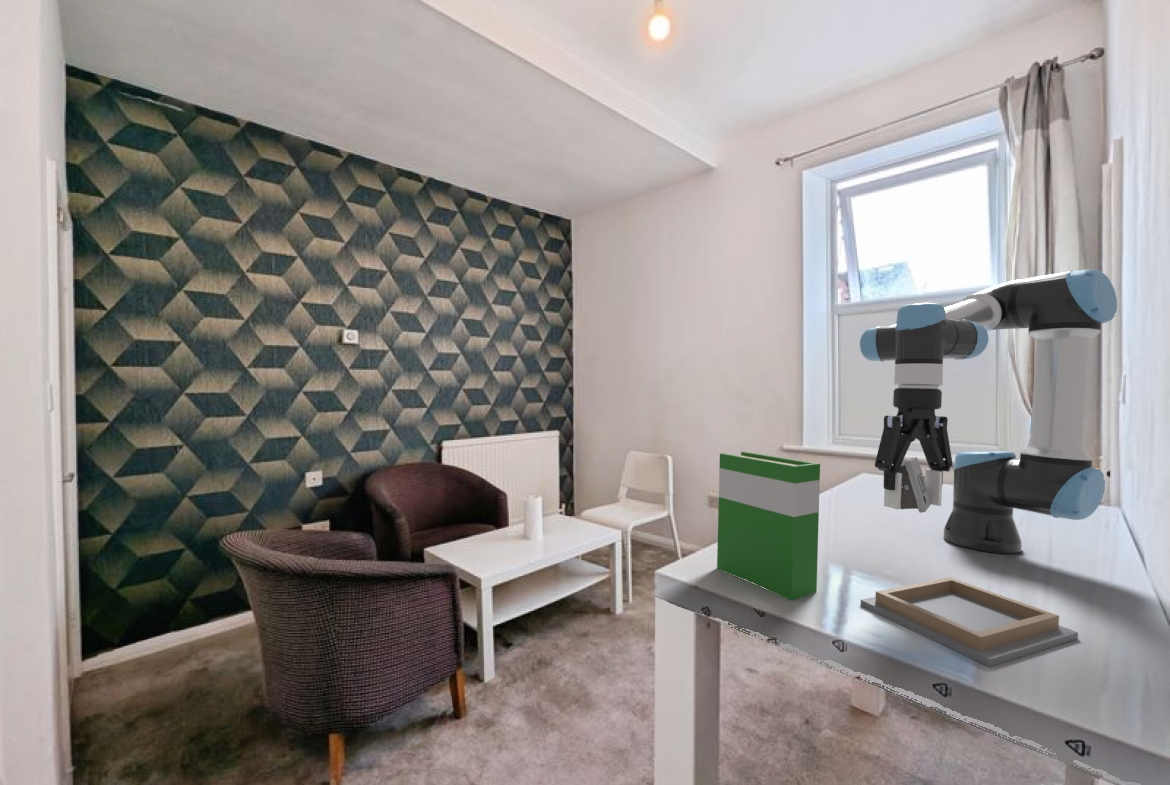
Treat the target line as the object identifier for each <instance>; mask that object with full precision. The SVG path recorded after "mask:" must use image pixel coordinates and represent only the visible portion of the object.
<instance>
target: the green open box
mask: <svg viewBox="0 0 1170 785" xmlns="http://www.w3.org/2000/svg"><path fill="white" fill-rule="evenodd" d="M718 469H719V473H718V475H719V476H718V477H719V478H718V479H719V480H718V512H717V513H718V515H717V521H718V522H717V550H716V551H717V552H716V553H717V556H716V559H717V560H716V562H717V563H716V568H718V569H717V570H720V569H721V570H720V571H722V570H723V572H724V571H726V572H725V573H727V572H728V573H727V574H729V573H731V574H733V575H735V576H734V577H736V576H738V577H740V578H743V579H746V580H748V581H750V582H753V583H755V584H757V585H759V586H762V587H764V588H766V589H768V590H770V591H773V592H775V593H777V594H779V595H778V596H780V595H781V596H780V597H782V596H783V597H782V598H784V597H786V598H785V599H787V598H788V599H787V600H789V599H790V600H789V601H791V600H792V601H795V600H797V599H801V598H803V596H804V597H806V595H807V596H809V594H810V595H812V594H814V592H815V593H817V591H818V590H817V588H818V587H817V586H818V585H817V584H818V582H817V581H818V551H819V550H818V549H819V517H820V516H819V515H820V488H821V487H820V483H821V482H820V479H821V463H819V462H811V461H805V460H799V459H794V458H793V459H792V458H786V457H780V456H774V455H768V454H761V453H755V452H749V451H740V455H734V454H733V455H732V454H728V453H719V468H718ZM731 574H730V575H731ZM733 575H732V576H733ZM738 577H737V578H738ZM740 578H739V579H740ZM743 579H742V580H743ZM750 582H749V583H750ZM757 585H756V586H757ZM759 586H758V587H759ZM764 588H763V589H764ZM766 589H765V590H766ZM768 590H767V591H768ZM770 591H769V592H770ZM773 592H772V593H773ZM775 593H774V594H775ZM811 593H812V594H811ZM777 594H776V595H777ZM800 597H801V598H800ZM794 599H795V600H794Z"/></svg>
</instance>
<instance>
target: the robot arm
mask: <svg viewBox="0 0 1170 785" xmlns="http://www.w3.org/2000/svg"><path fill="white" fill-rule="evenodd" d="M1117 299H1118V298H1117V294H1116V291H1115V288H1114V285H1113V284H1112V281H1111V280H1110V278H1109V277H1108V276H1107V275H1106V274H1105V273H1104V272H1102V271H1100V270H1098V269H1093V268H1091V269H1090V268H1089V269H1088V268H1087V269H1080V270H1069V271H1063V272H1057V273H1052V274H1051V273H1050V274H1046V275H1040V276H1034V277H1028V278H1020V279H1015V280H1010V281H1007V282H1003V283H1000V284H998V285H995V286H991V287H988V288H986V289H984V290H980V291H978V292H975V293H971V294H969V295H967V296H966V297H964V298H963V299H962V300H961V301H960V302H958V303H955V304H953V305H949V306H946V307H944V305H943V304H941V303H934V302H922V303H913V304H912V303H911V304H905V305H903V306H901V307H899V309H898V310H897V314H896V323H894V324H891V325H885V326H877V327H872V328H868V329H865V331H864V332H863V333H862V334H861V337H860V340H859V348H860V349H859V350H860V353H861V355H862V356H863V357H864V358H865V359H866V360H868V361H872V362H875V361H876V362H877V361H878V362H886V361H887V362H888V361H894V380H893V381H894V382H893V384H894V385H895V386H897V388H894V389H893V396H892V397H893V398H892V405H893V407H894V408H896V409H897V413H896V415H885V416H884V417H883V429H882V434H881V438H880V440H879V441H880V442H879V445H878V450H877V453H876V458H875V461H874V468H876V469H878V470H879V471H881V472H883V484H882V485H883V489H884V497H883V506H884V507H887V508H891V509H894V510H901V482H902V473H897V472H898V471H899V468H900V466H901V464H902V463H904V462H903V461H904V459H905V458H906V454H907V452H908V451H909V449H910V446H911V443H912V442H914V441H916V439H917V440H918V441H919V443H920V446H921V448H922V451H923V454H924V457H925V459H926V462H927V465H928V468H926V469H925V475H924V476H925V483H926V487H927V490H928V493H929V497H930V501H931V505H932V506H937V507H941V506H942V498H943V497H942V496H943V484H944V472H950V470H951V468H952V467H953V469H952V470H953V491H952V492H953V495H952V496H953V498H952V510H951V513H949V514H950V515H949V517H948V519H947V521H946V523H945V525H944V527H943V539H944V540H945V541H947V542H949V543H952V544H954V545H955V546H959V547H963V548H967V549H972V550H975V551H976V550H977V551H980V552H987V553H995V554H1018V553H1020V552H1021V551H1022V546H1023V545H1022V543H1023V542H1022V539H1021V536H1020V533H1019V530H1018V528H1017V525H1016V523H1015V520H1014V509H1015V510H1016V509H1017V510H1020V511H1021V510H1022V511H1026V512H1031V513H1035V514H1041V515H1046V516H1051V517H1052V518H1056V519H1059V518H1061V519H1067V520H1071V521H1072V520H1073V521H1080V520H1085V519H1087V518H1089V517H1090V516H1092V514H1094V513H1095V512H1096V510H1098V508H1099V506H1100V504H1101V502H1102V500H1103V497H1104V494H1105V490H1106V480H1105V475H1104V473H1103V472H1102V471H1101V470H1100V469H1098V468H1096V467H1093V466H1092V465H1093V458H1092V457H1091V456H1090V455H1088V454H1087V453H1086V452H1085V450H1084V437H1085V425H1086V424H1085V420H1086V409H1087V408H1086V406H1087V405H1086V404H1087V393H1088V392H1087V390H1088V378H1089V377H1088V376H1089V362H1090V360H1089V359H1090V348H1091V347H1090V345H1091V340H1092V339H1093V338H1095V337H1096V336H1097V335H1099V334H1101V331H1102V324H1104V323H1105V324H1106V323H1108V322H1111V321H1112V320H1113V319H1114V317H1115V316H1116V313H1117V309H1118V300H1117ZM1013 329H1014V330H1015V329H1016V330H1017V329H1028V335H1029V336H1030V337H1031V338H1033V339H1034V340H1035V341H1036V345H1035V346H1036V347H1035V362H1034V375H1033V377H1034V379H1033V393H1032V408H1031V420H1030V435H1029V436H1030V437H1029V439H1030V440H1029V445H1028V446H1027V447H1026V448H1024V449H1022V450H1021V451H1020V454H1019V458H1017V455H1016V454H1015V452H1014V451H1007V450H1006V451H1004V450H1003V451H1001V450H996V451H995V450H994V451H993V450H992V451H987V450H986V451H985V450H983V451H978V450H977V451H963V452H959V453H957V454H956V456H955V457H954V465H953V458H952V451H951V445H950V439H949V433H948V420H949V419H948V417H947V416H943V415H941V416H940V415H936V410H940V409H941V408H942V402H943V401H942V399H943V398H942V396H943V391H942V390H941V389H939V387H941V386H943V381H944V378H943V377H944V376H943V374H944V364H943V363H944V359H954V360H969V359H973V358H975V357H978V356H980V355H981V354H982V353H983V352H984V351H985V350H986V348H987V346H988V343H989V339H990V338H989V334H988V332H989V331H990V332H991V331H993V330H994V331H995V330H1013Z"/></svg>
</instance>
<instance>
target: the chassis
mask: <svg viewBox="0 0 1170 785" xmlns="http://www.w3.org/2000/svg"><path fill="white" fill-rule="evenodd" d="M860 606H861V607H863V608H865V609H867V610H870V611H871V612H873V613H875V614H877V615H880V616H882V617H884V618H886V619H889V620H890V621H892V622H894V623H896V624H899V625H901V626H903V627H905V628H907V629H909V630H911V631H913V632H916V633H917V634H920V635H922V636H924V637H926V638H928V639H931V640H932V641H935V642H936V643H939V644H941V645H943V646H945V647H947V648H949V649H951V650H953V651H956V652H958V653H960V654H961V655H963V656H966V657H967V658H971V659H973V660H974V661H977V662H978V663H981V665H982V664H983V665H984V666H987V667H993V666H995V665H999V664H1002V663H1005V662H1008V661H1011V660H1014V659H1018V658H1021V657H1025V656H1028V655H1031V654H1034V653H1037V652H1040V651H1043V650H1046V649H1050V648H1053V647H1056V646H1055V645H1057V646H1059V645H1058V644H1060V643H1063V644H1065V643H1064V642H1066V643H1068V642H1067V641H1069V642H1072V641H1075V639H1076V640H1078V639H1079V632H1078V631H1075V630H1072V629H1070V628H1068V627H1064V626H1061V625H1060V615H1058V614H1055V613H1053V612H1050V611H1048V610H1047V611H1046V610H1043V609H1041V608H1038V607H1035V606H1032V605H1030V604H1027V603H1024V602H1022V601H1018V600H1015V599H1012V598H1010V597H1008V596H1007V597H1006V596H1004V595H1002V594H998V593H996V592H994V591H989V590H988V589H985V588H982V587H979V586H976V585H973V584H969V583H967V582H965V581H963V580H962V581H961V580H958V579H956V578H952V577H950V576H948V577H942V578H937V579H931V580H928V581H922V582H918V583H917V582H916V583H913V584H908V585H903V586H902V585H901V586H896V587H891V588H886V589H881V590H877V591H876V590H875V596H872V597H868V598H863V599H860ZM1060 645H1061V644H1060ZM1052 646H1053V647H1052ZM1049 647H1050V648H1049Z"/></svg>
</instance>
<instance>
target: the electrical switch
mask: <svg viewBox="0 0 1170 785" xmlns="http://www.w3.org/2000/svg"><path fill="white" fill-rule="evenodd" d="M897 473H902V482H901V508H900V510H914V509H917V510H918V512H919V513H921V514H922V513H926V512H927V511H928V509H929V507H931V505H932V504H931V501H930V497H929V493H928V490H927V487H926V483H925V475H924V474H923V471H922V467H921V464H920V462H919V460H918V458H917V456H915V457H909V458H908V459H907V460H905V461H904V462H902V464H901V466H900V468H899V471H898V472H897Z"/></svg>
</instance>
